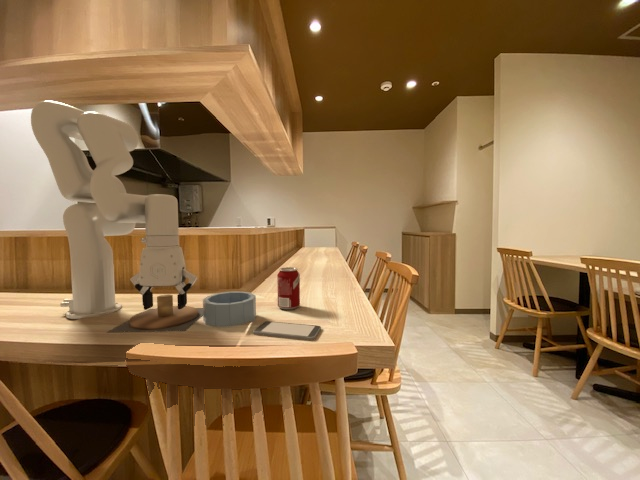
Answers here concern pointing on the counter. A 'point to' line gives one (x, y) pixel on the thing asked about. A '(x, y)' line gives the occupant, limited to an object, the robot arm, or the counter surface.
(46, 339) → the counter surface
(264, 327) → the smartphone
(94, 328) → the counter surface
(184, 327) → the mat
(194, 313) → the lid
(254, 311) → the bowl
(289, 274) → the soda can
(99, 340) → the counter surface
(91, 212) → the robot arm
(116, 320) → the counter surface
